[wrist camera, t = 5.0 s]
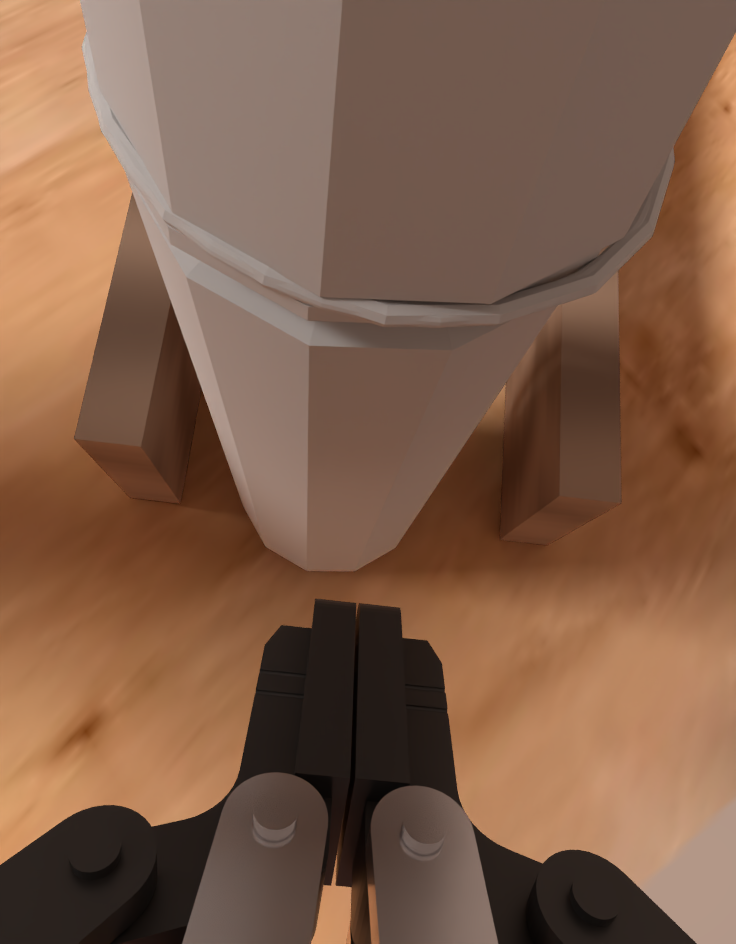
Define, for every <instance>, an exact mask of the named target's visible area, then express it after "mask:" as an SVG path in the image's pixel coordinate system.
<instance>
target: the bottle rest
mask: <svg viewBox="0 0 736 944" xmlns="http://www.w3.org/2000/svg"><path fill="white" fill-rule="evenodd" d="M608 246H609V245H608ZM608 246H606V247H604V248H602V249H601V251H600V253H599V254H598V256H599V255H600V254H601V253H602V252H603V251H604V250H605V249H606V248H607V247H608ZM200 394H201V385H200V382H199V379H198V377H197V374H196V371H195V368H194V365H193V362H192V360H191V357H190V354H189V351H188V348H187V345H186V343H185V340H184V337H183V334H182V331H181V328H180V326H179V323H178V320H177V317H176V314H175V311H174V309H173V306H172V303H171V300H170V297H169V294H168V291H167V289H166V286H165V283H164V280H163V277H162V274H161V272H160V269H159V266H158V263H157V260H156V257H155V255H154V252H153V249H152V246H151V243H150V240H149V238H148V235H147V232H146V229H145V226H144V223H143V221H142V218H141V215H140V212H139V209H138V206H137V204H136V201H135V198H134V195H133V192H132V196H131V200H130V204H129V209H128V213H127V217H126V221H125V226H124V230H123V234H122V238H121V242H120V247H119V251H118V255H117V259H116V264H115V268H114V272H113V276H112V280H111V285H110V289H109V293H108V297H107V302H106V306H105V310H104V314H103V318H102V323H101V327H100V331H99V335H98V339H97V344H96V348H95V352H94V356H93V361H92V365H91V369H90V373H89V377H88V382H87V386H86V390H85V394H84V399H83V403H82V407H81V411H80V415H79V420H78V424H77V428H76V432H75V436H74V439H75V440H76V441H77V442H78V444H79V445H80V446H81V447H82V448H83V449H84V450H85V451H86V452H87V453H88V454H89V455H90V456H91V457H92V458H93V459H94V460H95V461H96V463H97V464H98V465H99V466H100V467H101V468H102V469H103V470H104V471H105V472H106V473H107V474H108V475H109V476H110V477H111V478H112V479H113V480H114V481H115V483H116V484H117V485H118V486H119V487H120V488H121V489H122V490H123V491H124V492H125V493H126V494H127V495H128V496H129V497H130V498H137V499H146V500H154V501H163V502H172V503H181V498H182V492H183V487H184V481H185V476H186V470H187V465H188V459H189V454H190V449H191V443H192V438H193V432H194V427H195V421H196V416H197V410H198V405H199V399H200ZM619 504H621V436H620V362H619V287H618V271H617V272H616V273H615V274H614V275H613V276H612V277H611V278H610V279H609V280H608V281H607V282H606V283H605V284H604V285H603V286H602V287H601V288H600V289H599V290H598V291H597V292H596V293H594V294H591V295H589V296H586V297H583V298H579V299H576V300H573V301H570V302H567V303H564V304H561V305H558V306H557V307H556V308H555V310H554V311H553V313H552V314H551V316H550V317H549V319H548V320H547V322H546V323H545V325H544V326H543V328H542V329H541V331H540V332H539V334H538V335H537V337H536V338H535V340H534V341H533V343H532V344H531V346H530V347H529V349H528V350H527V352H526V353H525V355H524V356H523V358H522V359H521V361H520V362H519V364H518V365H517V367H516V368H515V370H514V371H513V373H512V374H511V376H510V377H509V379H508V380H507V382H506V395H505V420H504V445H503V470H502V495H501V520H500V540H506V541H515V542H524V543H532V544H541V545H549V544H550V543H552V542H554V541H556V540H557V539H559V538H561V537H563V536H565V535H566V534H568V533H570V532H572V531H573V530H575V529H577V528H579V527H580V526H582V525H584V524H586V523H587V522H589V521H591V520H593V519H594V518H596V517H598V516H600V515H602V514H603V513H605V512H607V511H609V510H610V509H612V508H614V507H616V506H617V505H619Z"/></svg>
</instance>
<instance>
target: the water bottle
mask: <svg viewBox="0 0 736 944" xmlns="http://www.w3.org/2000/svg"><path fill="white" fill-rule="evenodd" d="M80 3H81V7H82V12H83V16H84V21H85V25H86V30H87V32H86V35H85V38H84V41H83V44H82V51H83V56H84V60H85V64H86V68H87V79H88V90H89V93H90V96H91V99H92V102H93V105H94V108H95V111H96V114H97V116H98V120H99V124H100V129H101V132H102V133H103V135H104V136H105V138H106V139H107V141H108V143H109V144H110V146H111V148H112V150H113V151H114V153H115V155H116V156H117V158H118V160H119V162H120V163H121V165H122V167H123V169H124V170H125V172H126V175H127V178H128V181H129V184H130V187H131V189H132V192H133V195H134V198H135V201H136V204H137V206H138V209H139V212H140V215H141V218H142V221H143V223H144V226H145V229H146V232H147V235H148V238H149V240H150V243H151V246H152V249H153V252H154V255H155V257H156V260H157V263H158V266H159V269H160V272H161V274H162V277H163V280H164V283H165V286H166V289H167V291H168V294H169V297H170V300H171V303H172V306H173V309H174V311H175V314H176V317H177V320H178V323H179V326H180V328H181V331H182V334H183V337H184V340H185V343H186V345H187V348H188V351H189V354H190V357H191V360H192V362H193V365H194V368H195V371H196V374H197V377H198V379H199V382H200V385H201V388H202V391H203V394H204V396H205V399H206V402H207V405H208V408H209V411H210V414H211V416H212V419H213V422H214V425H215V428H216V431H217V433H218V436H219V439H220V442H221V445H222V448H223V450H224V453H225V456H226V459H227V462H228V465H229V467H230V470H231V473H232V476H233V479H234V482H235V484H236V487H237V490H238V493H239V496H240V499H241V501H242V504H243V507H244V509H245V510H246V512H247V514H248V516H249V518H250V520H251V521H252V523H253V525H254V527H255V529H256V530H257V532H258V534H259V536H260V538H261V540H262V541H263V543H264V545H265V547H267V548H268V549H270V550H272V551H273V552H275V553H277V554H279V555H280V556H282V557H284V558H285V559H287V560H289V561H290V562H292V563H294V564H296V565H297V566H299V567H301V568H302V569H304V570H306V571H356V570H358V569H360V568H361V567H363V566H365V565H367V564H368V563H370V562H372V561H374V560H375V559H377V558H379V557H381V556H382V555H384V554H386V553H388V552H389V551H391V550H393V549H395V548H396V546H397V545H398V543H399V542H400V540H401V539H402V537H403V536H404V534H405V533H406V531H407V530H408V528H409V527H410V525H411V524H412V522H413V521H414V519H415V518H416V516H417V515H418V513H419V512H420V510H421V509H422V507H423V506H424V504H425V503H426V501H427V500H428V498H429V497H430V495H431V494H432V492H433V491H434V489H435V488H436V487H437V485H438V484H439V482H440V481H441V479H442V478H443V476H444V475H445V473H446V472H447V470H448V469H449V467H450V466H451V464H452V463H453V461H454V460H455V458H456V457H457V455H458V454H459V452H460V451H461V449H462V448H463V446H464V445H465V443H466V442H467V440H468V439H469V437H470V436H471V434H472V433H473V431H474V430H475V428H476V427H477V425H478V424H479V422H480V421H481V419H482V418H483V416H484V415H485V413H486V412H487V410H488V409H489V407H490V406H491V404H492V403H493V401H494V400H495V398H496V397H497V395H498V394H499V392H500V391H501V389H502V388H503V386H504V385H505V383H506V382H507V380H508V379H509V377H510V376H511V374H512V373H513V371H514V370H515V368H516V367H517V365H518V364H519V362H520V361H521V359H522V358H523V356H524V355H525V353H526V352H527V350H528V349H529V347H530V346H531V344H532V343H533V341H534V340H535V338H536V337H537V335H538V334H539V332H540V331H541V329H542V328H543V326H544V325H545V323H546V322H547V320H548V319H549V317H550V316H551V314H552V313H553V311H554V310H555V308H556V307H557V306H558V305H561V304H564V303H567V302H570V301H573V300H576V299H579V298H583V297H586V296H589V295H591V294H594V293H596V292H597V291H598V290H599V289H600V288H601V287H602V286H603V285H604V284H605V283H606V282H607V281H608V280H609V279H610V278H611V277H612V276H613V275H614V274H615V273H616V272H617V271H618V270H619V269H620V268H621V267H622V266H623V265H624V264H625V263H626V262H627V261H628V260H629V259H630V258H631V257H632V256H633V255H634V254H635V253H636V252H637V251H638V250H639V249H640V248H641V247H642V246H643V245H644V244H645V243H646V242H647V241H648V240H649V239H650V238H651V237H652V236H653V233H654V230H655V226H656V223H657V220H658V217H659V213H660V210H661V207H662V203H663V200H664V197H665V194H666V190H667V187H668V184H669V180H670V177H671V174H672V171H673V167H674V162H675V158H674V149H673V147H674V145H675V143H676V141H677V139H678V137H679V136H680V134H681V132H682V130H683V128H684V126H685V125H686V123H687V121H688V119H689V117H690V115H691V114H692V112H693V110H694V108H695V106H696V104H697V102H698V101H699V99H700V97H701V95H702V93H703V91H704V90H705V88H706V86H707V84H708V82H709V80H710V79H711V77H712V75H713V73H714V71H715V69H716V67H717V66H718V64H719V62H720V60H721V58H722V56H723V55H724V53H725V51H726V49H727V47H728V45H729V44H730V42H731V40H732V38H733V36H734V34H735V32H736V0H80ZM608 245H609V246H608ZM606 246H608V247H607V248H606V249H605V250H604V251H603V252H602V253H601V254H600V255H599V256H598V254H599V253H600V251H601V249H602V248H604V247H606Z"/></svg>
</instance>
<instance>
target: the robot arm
mask: <svg viewBox="0 0 736 944" xmlns="http://www.w3.org/2000/svg"><path fill="white" fill-rule="evenodd" d="M336 855H337V868H336V886H346V887H352V893H351V921H350V926H349V930H348V935H347V940H346V944H696V943H695V942H694V941H693V940H692V939H691V938H690V937H689V936H688V935H687V934H686V933H685V932H684V931H683V930H682V929H681V928H680V927H679V926H678V925H677V924H676V923H675V922H674V921H673V920H672V919H671V918H670V917H669V916H668V915H667V914H666V913H665V912H663V911H662V910H661V909H660V908H659V907H658V906H657V905H656V904H655V903H654V902H653V901H652V900H651V899H650V898H649V897H648V896H647V895H646V894H645V893H644V892H643V891H642V890H641V889H640V888H639V887H638V886H637V885H636V884H635V883H634V882H633V881H632V880H631V879H630V878H628V877H627V876H626V875H625V874H624V873H623V872H622V871H621V870H620V869H619V868H617V867H616V866H615V865H613V864H612V863H611V862H609V861H608V860H606V859H604V858H602V857H600V856H598V855H595V854H593V853H590V852H586V851H581V850H566V851H561V852H558V853H555V854H554V855H552V856H551V857H549V858H548V859H547V860H546V861H545V862H544V863H543V864H542V863H540V862H537V861H535V860H532V859H530V858H528V857H525V856H523V855H520V854H518V853H516V852H513V851H511V850H508V849H506V848H504V847H502V846H500V845H498V844H496V843H495V842H493V841H492V840H490V839H489V838H487V837H486V836H485V835H484V834H482V833H481V832H480V831H479V830H478V829H477V828H476V827H475V826H474V825H473V823H472V822H471V821H470V819H469V818H468V816H467V815H466V813H465V811H464V810H463V808H462V805H461V803H460V800H459V796H458V791H457V783H456V775H455V767H454V759H453V751H452V742H451V734H450V726H449V718H448V714H447V702H446V693H445V685H444V677H443V669H442V663H441V661H440V660H439V658H438V657H437V655H436V653H435V652H434V650H433V649H432V647H431V646H430V644H429V643H428V641H425V640H416V639H407V638H402V624H401V610H400V608H397V607H388V606H379V605H370V604H360V603H359V605H358V610H357V616H356V603H350V602H341V601H332V600H322V599H315V606H314V614H313V622H312V628H302V627H293V626H284V625H281V626H280V628H279V629H278V630H277V631H276V632H275V634H274V635H273V636H272V637H271V638H270V640H269V641H268V642H267V643H266V644H265V647H264V652H263V657H262V662H261V667H260V674H259V677H258V682H257V687H256V694H255V697H254V702H253V707H252V712H251V717H250V722H249V727H248V732H247V737H246V742H245V747H244V752H243V757H242V762H241V767H240V771H239V774H238V778H237V780H236V782H235V784H234V786H233V788H232V789H231V790H230V792H229V793H228V794H227V795H226V796H225V798H224V799H223V800H222V801H221V802H219V803H218V804H217V805H215V806H214V807H213V808H211V809H209V810H208V811H206V812H204V813H202V814H200V815H198V816H195V817H192V818H189V819H185V820H181V821H176V822H172V823H167V824H163V825H158V826H153V827H151V825H150V824H149V823H148V821H147V820H146V819H145V818H144V817H143V816H141V815H140V814H139V813H137V812H135V811H133V810H132V809H129V808H126V807H122V806H115V805H103V806H97V807H92V808H88V809H85V810H82V811H80V812H78V813H76V814H73V815H72V816H70V817H68V818H67V819H65V820H64V821H62V822H61V823H59V824H58V825H56V826H55V827H54V828H52V829H51V830H49V831H48V832H47V833H45V834H44V835H42V836H41V837H39V838H38V839H37V840H35V841H34V842H32V843H31V844H30V845H28V846H27V847H25V848H24V849H22V850H21V851H20V852H18V853H17V854H15V855H14V856H13V857H11V858H10V859H8V860H7V861H5V862H4V863H3V864H1V865H0V944H311V941H312V939H313V936H314V933H315V930H316V925H317V919H318V913H319V908H320V902H321V896H322V890H323V885H331V883H332V877H333V872H334V866H335V860H336Z"/></svg>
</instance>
